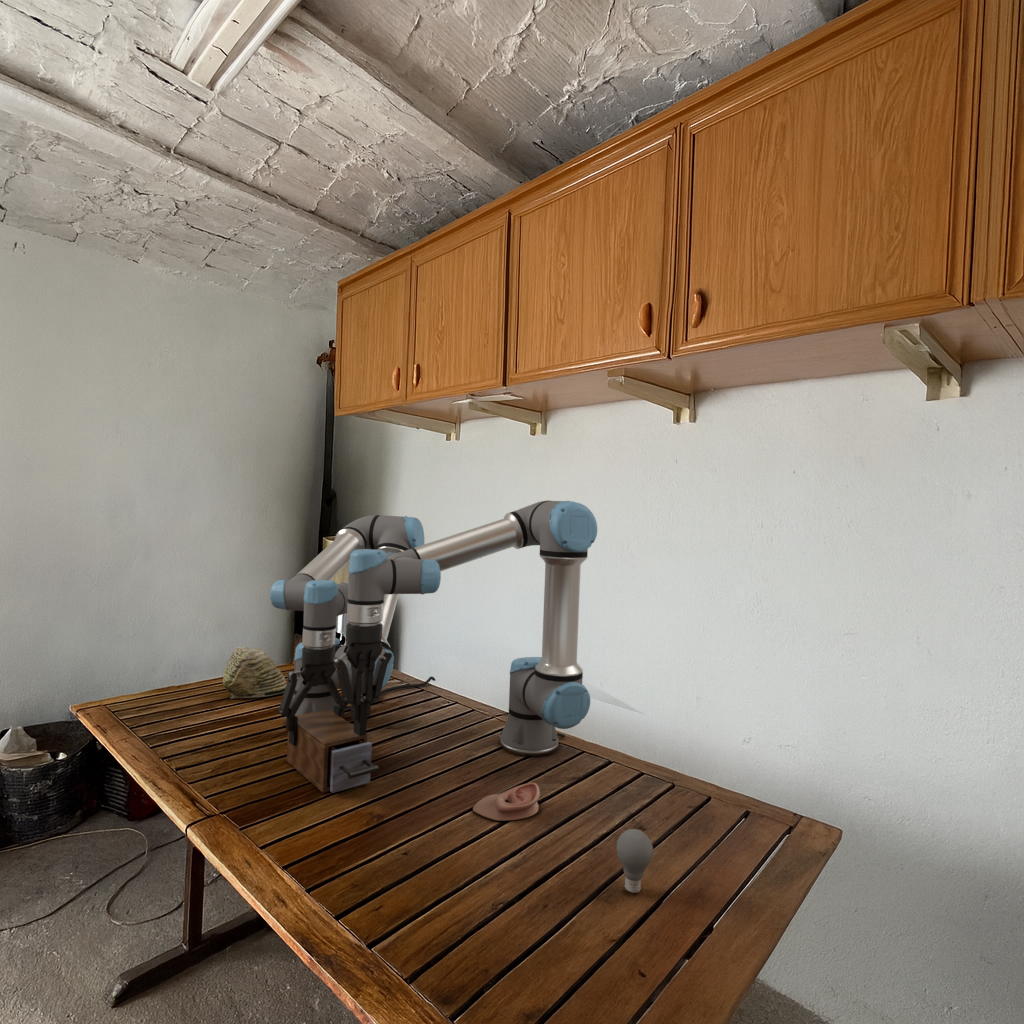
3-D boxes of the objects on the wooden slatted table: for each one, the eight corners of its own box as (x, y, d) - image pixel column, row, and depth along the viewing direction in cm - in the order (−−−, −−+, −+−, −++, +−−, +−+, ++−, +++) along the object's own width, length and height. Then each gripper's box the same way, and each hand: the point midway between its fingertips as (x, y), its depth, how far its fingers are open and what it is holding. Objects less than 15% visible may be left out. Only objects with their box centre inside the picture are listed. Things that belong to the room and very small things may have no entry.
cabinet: (365, 780, 142) (367, 733, 142) (322, 792, 136) (324, 743, 135) (326, 751, 157) (328, 709, 157) (286, 761, 151) (288, 716, 150)
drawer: (382, 791, 135) (384, 751, 135) (344, 803, 130) (345, 761, 129) (332, 754, 153) (334, 718, 153) (296, 762, 148) (298, 725, 147)
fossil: (218, 695, 195) (220, 647, 195) (278, 685, 208) (279, 640, 207) (228, 703, 189) (230, 653, 188) (289, 692, 201) (290, 645, 201)
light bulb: (610, 879, 108) (613, 822, 108) (644, 879, 109) (647, 822, 109) (619, 902, 102) (622, 840, 102) (655, 901, 103) (658, 840, 103)
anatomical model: (469, 797, 128) (483, 773, 139) (468, 816, 128) (482, 791, 139) (534, 806, 125) (543, 781, 136) (533, 826, 125) (542, 799, 136)
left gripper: (277, 655, 140) (273, 754, 140) (369, 643, 155) (365, 733, 155) (264, 648, 146) (261, 744, 146) (355, 637, 161) (351, 724, 161)
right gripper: (344, 628, 127) (339, 745, 127) (400, 623, 135) (395, 732, 136) (327, 622, 132) (323, 734, 133) (383, 617, 141) (378, 722, 141)
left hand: (315, 738), depth 151 cm, fingers closed on cabinet, 10 cm apart
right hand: (359, 733), depth 134 cm, fingers closed
